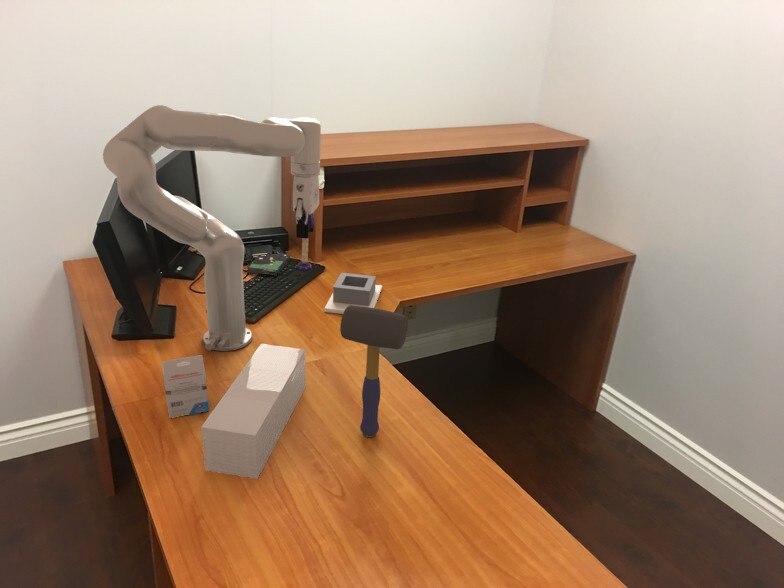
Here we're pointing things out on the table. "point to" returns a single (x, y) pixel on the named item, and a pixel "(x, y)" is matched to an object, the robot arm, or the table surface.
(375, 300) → the dock
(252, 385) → the long gray block
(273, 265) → the disk drive
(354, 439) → the table surface
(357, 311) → the rubber mallet
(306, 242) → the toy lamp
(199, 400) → the ink box
